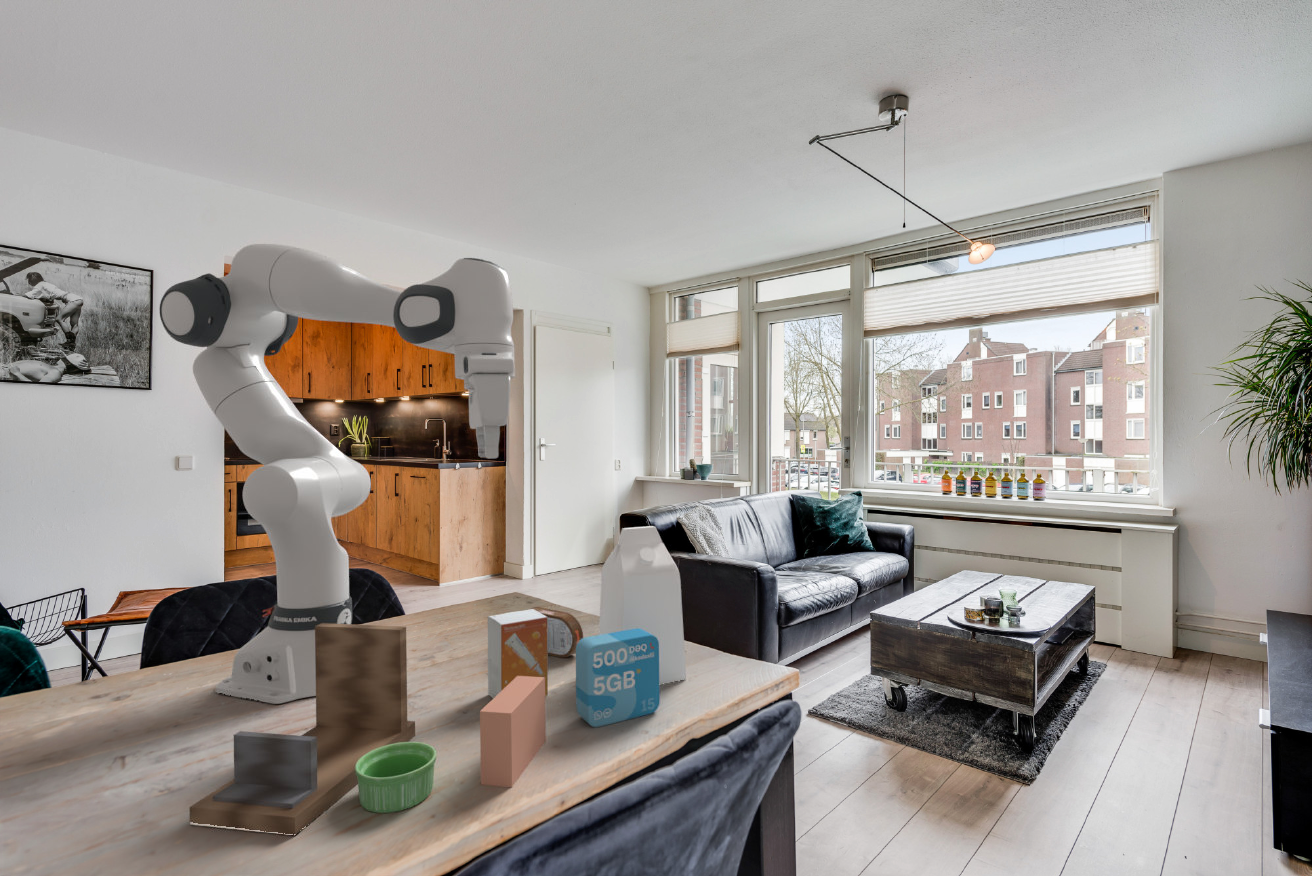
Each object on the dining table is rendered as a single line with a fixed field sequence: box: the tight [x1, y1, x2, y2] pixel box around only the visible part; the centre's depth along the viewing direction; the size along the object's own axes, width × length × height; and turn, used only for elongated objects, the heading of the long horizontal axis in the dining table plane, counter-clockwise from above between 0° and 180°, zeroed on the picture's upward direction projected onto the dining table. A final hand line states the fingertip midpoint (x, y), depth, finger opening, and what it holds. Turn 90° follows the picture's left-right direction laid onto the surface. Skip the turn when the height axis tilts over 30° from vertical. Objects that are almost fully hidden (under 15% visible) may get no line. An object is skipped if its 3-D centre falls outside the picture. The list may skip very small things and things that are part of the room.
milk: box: [598, 525, 687, 685], centre depth 117 cm, size 12×12×26 cm
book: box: [479, 676, 547, 788], centre depth 86 cm, size 4×12×9 cm, turn 170°
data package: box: [575, 628, 661, 728], centre depth 100 cm, size 12×4×12 cm, turn 120°
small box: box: [487, 608, 549, 699], centre depth 108 cm, size 8×6×13 cm
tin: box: [530, 606, 584, 659], centre depth 129 cm, size 15×3×8 cm, turn 58°
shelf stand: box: [189, 623, 416, 835], centre depth 83 cm, size 13×24×16 cm, turn 170°
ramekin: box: [355, 741, 437, 814], centre depth 79 cm, size 9×9×4 cm
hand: (488, 457), depth 101 cm, fingers open, 8 cm apart
